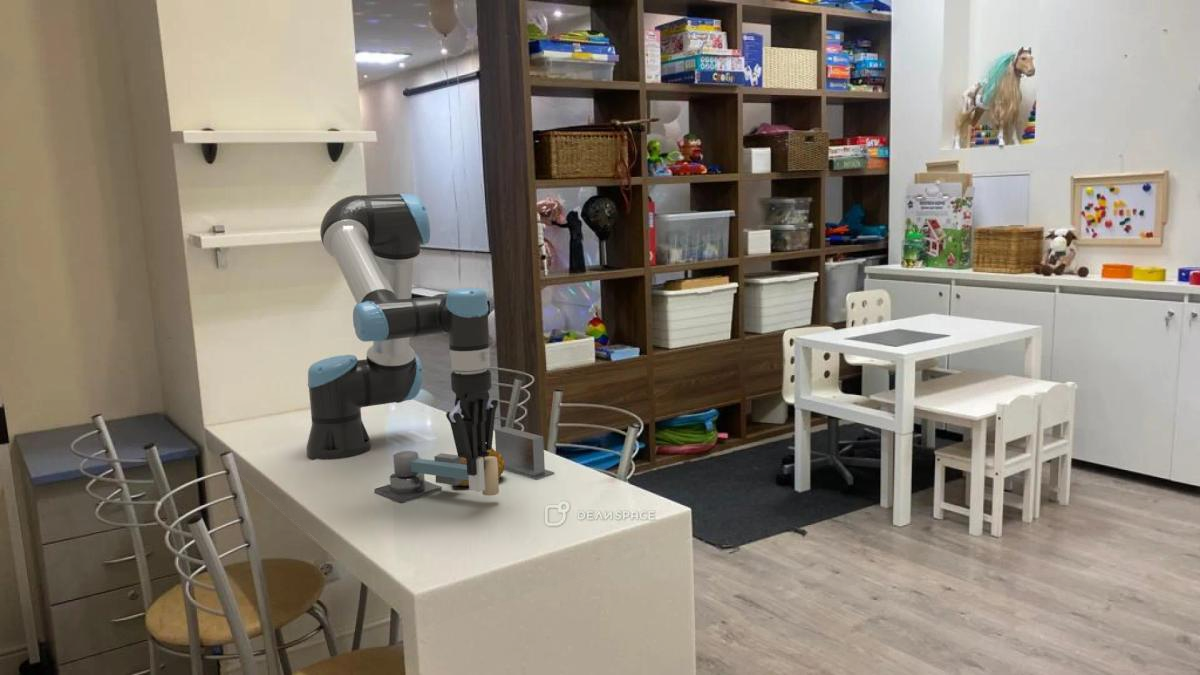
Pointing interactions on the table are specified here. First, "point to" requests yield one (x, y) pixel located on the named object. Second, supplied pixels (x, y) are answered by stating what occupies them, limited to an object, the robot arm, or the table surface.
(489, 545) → the table surface
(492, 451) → the golden brown lumpy piece
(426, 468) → the lever
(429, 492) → the frame
